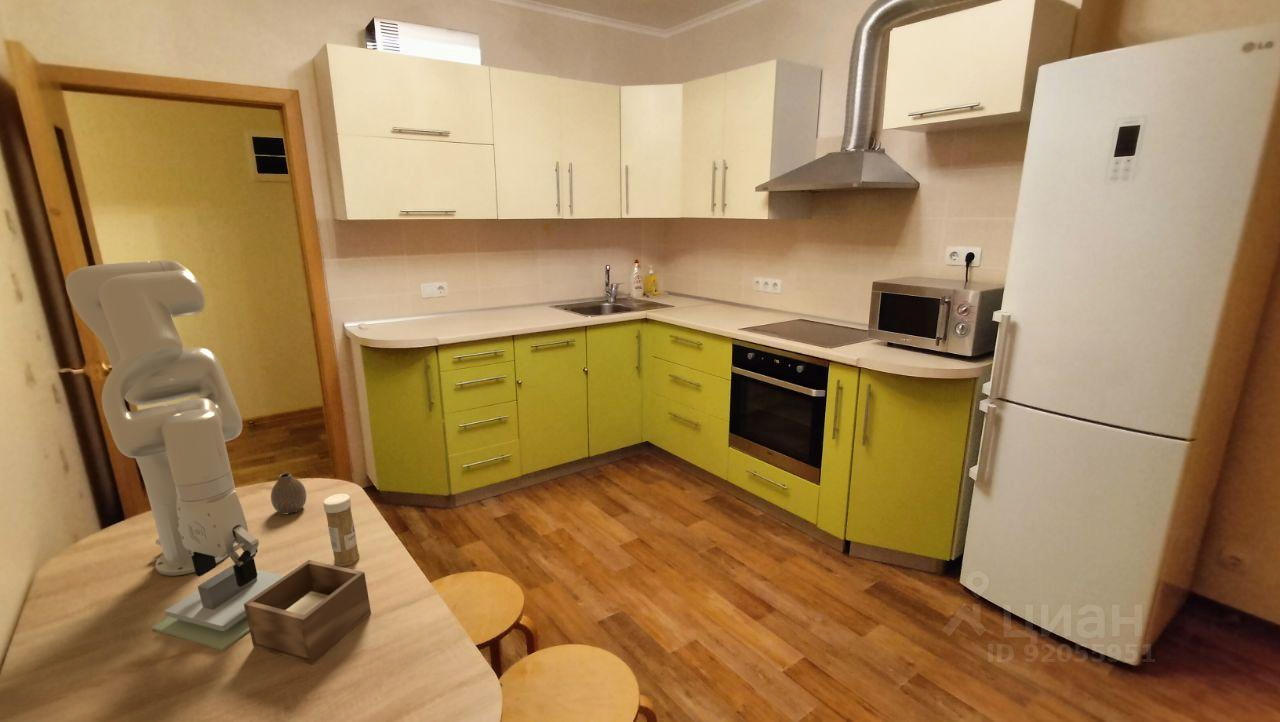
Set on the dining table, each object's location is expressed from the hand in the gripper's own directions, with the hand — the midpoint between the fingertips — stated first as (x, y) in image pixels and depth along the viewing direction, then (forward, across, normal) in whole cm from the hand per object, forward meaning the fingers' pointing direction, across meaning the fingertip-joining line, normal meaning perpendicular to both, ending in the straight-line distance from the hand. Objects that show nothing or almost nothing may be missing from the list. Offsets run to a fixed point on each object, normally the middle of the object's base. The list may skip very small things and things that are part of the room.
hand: (227, 576), depth 99 cm
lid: (+6, 0, 0) cm, 6 cm away
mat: (+6, 0, 0) cm, 6 cm away
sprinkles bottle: (+6, +8, +17) cm, 20 cm away
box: (+6, +18, 0) cm, 19 cm away
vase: (+7, -20, +29) cm, 36 cm away
